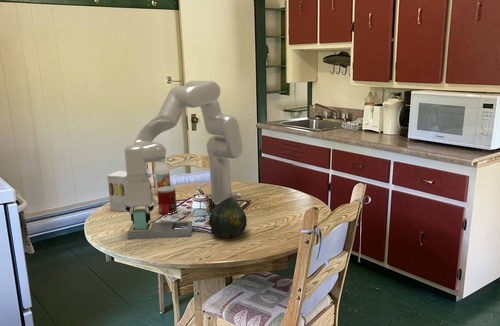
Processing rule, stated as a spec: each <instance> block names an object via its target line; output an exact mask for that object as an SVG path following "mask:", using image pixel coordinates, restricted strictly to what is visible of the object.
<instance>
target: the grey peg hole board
mask: <svg viewBox="0 0 500 326" xmlns="http://www.w3.org/2000/svg"><path fill="white" fill-rule="evenodd" d="M192 224H193V220H185V221H184V220H183V221H182V220H181V221H180V220H179V221H178V220H177V221H159V222H158V221H157V222H155V221H154V222H148V226H149V228H148V230H135V227H134V224H133V223H132V224H131V226H130V227H129V230H128V231H127V239H128V240H139V239H140V240H141V239H143V240H144V239H160V238H161V239H162V238H164V239H165V238H183V237H184V238H185V237H191V236H192V232H193V227H192ZM181 226H187V229H174V228H176V227H181Z"/></svg>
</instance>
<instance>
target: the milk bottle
mask: <svg viewBox="0 0 500 326" xmlns="http://www.w3.org/2000/svg"><path fill="white" fill-rule="evenodd" d="M170 173H171V172H170V168H169V166H168V164H167V162H166V156H165V157H164V158H163V159H162V160H160V161H158V162H156V164H155V167H154V173H153V175H154V188H155V190H154V191H155V194H156V195H157V196H158V194H157V189H158V188H160V187H165V186H171V174H170ZM171 187H172V186H171Z"/></svg>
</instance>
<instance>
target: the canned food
mask: <svg viewBox="0 0 500 326" xmlns="http://www.w3.org/2000/svg"><path fill="white" fill-rule="evenodd" d="M157 194H158V195H157ZM157 194H156V195H157V202H158V205H157V206H158V213H159V214H160V215H164V214H168V213H173V212H175V211H176V212H177V198H176V197H177V196H176V194H177V193H176V187H175V186H165V187H160V188H158V189H157ZM176 212H175V213H176ZM164 216H165V215H164Z"/></svg>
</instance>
